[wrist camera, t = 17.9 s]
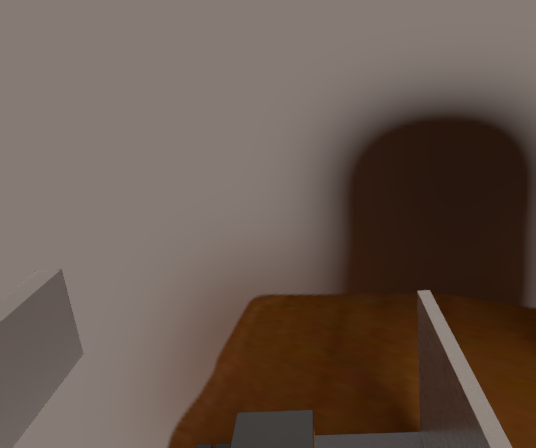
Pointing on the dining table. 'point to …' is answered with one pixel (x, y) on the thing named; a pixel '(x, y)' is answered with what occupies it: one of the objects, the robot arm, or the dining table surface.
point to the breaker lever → (274, 430)
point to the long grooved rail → (217, 447)
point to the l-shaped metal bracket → (437, 397)
